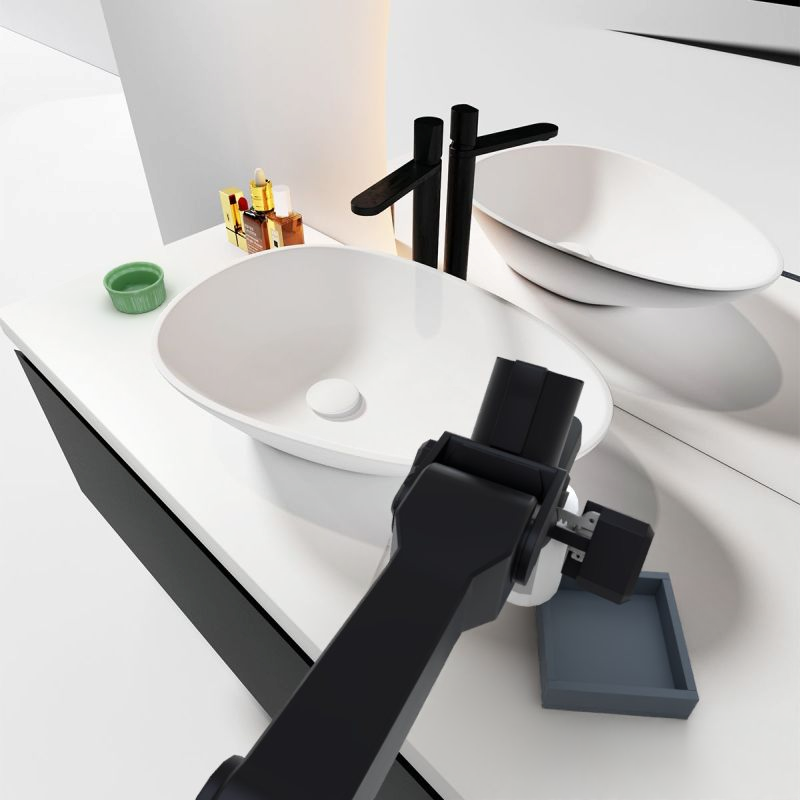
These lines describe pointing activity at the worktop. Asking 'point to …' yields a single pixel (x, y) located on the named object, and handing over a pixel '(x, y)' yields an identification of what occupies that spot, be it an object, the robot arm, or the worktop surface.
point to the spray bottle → (545, 567)
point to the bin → (615, 652)
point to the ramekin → (136, 286)
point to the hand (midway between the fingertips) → (538, 513)
